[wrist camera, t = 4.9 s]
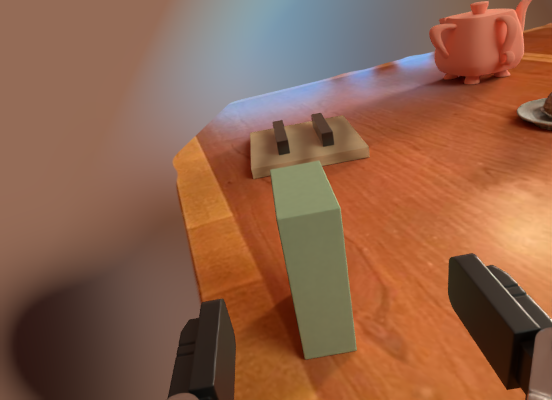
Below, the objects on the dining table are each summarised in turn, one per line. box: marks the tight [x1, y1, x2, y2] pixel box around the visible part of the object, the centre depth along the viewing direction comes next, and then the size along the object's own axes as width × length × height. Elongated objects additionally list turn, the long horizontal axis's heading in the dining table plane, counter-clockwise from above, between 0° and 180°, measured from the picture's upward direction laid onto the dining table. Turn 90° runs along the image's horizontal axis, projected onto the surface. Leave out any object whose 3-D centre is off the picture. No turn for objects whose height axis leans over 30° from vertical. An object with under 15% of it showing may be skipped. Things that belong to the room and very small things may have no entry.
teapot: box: [429, 0, 532, 84], centre depth 76 cm, size 16×17×14 cm
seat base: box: [250, 113, 369, 179], centre depth 60 cm, size 16×16×4 cm
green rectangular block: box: [270, 161, 357, 359], centre depth 27 cm, size 4×7×11 cm, turn 4°
